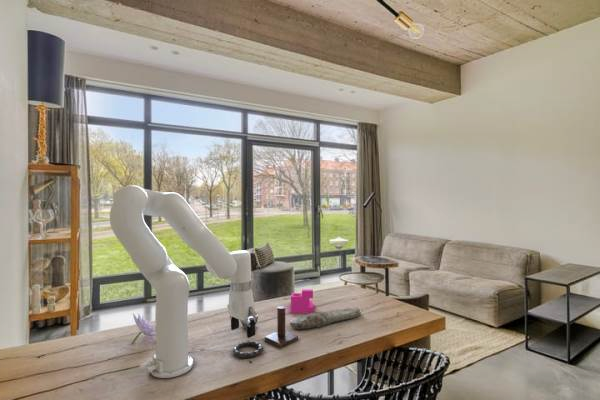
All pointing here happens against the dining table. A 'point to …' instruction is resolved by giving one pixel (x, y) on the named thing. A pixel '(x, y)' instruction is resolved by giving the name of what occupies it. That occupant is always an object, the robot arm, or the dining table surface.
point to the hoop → (247, 355)
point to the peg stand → (281, 331)
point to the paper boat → (246, 324)
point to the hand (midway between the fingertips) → (243, 332)
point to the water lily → (144, 328)
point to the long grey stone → (324, 318)
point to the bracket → (302, 301)
